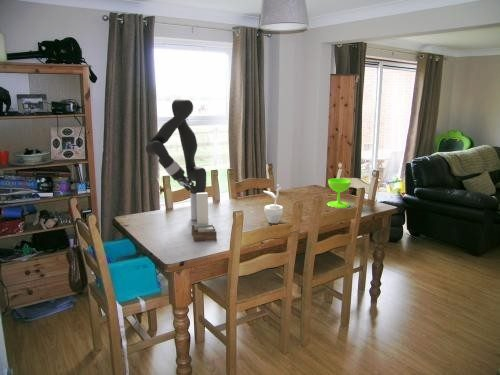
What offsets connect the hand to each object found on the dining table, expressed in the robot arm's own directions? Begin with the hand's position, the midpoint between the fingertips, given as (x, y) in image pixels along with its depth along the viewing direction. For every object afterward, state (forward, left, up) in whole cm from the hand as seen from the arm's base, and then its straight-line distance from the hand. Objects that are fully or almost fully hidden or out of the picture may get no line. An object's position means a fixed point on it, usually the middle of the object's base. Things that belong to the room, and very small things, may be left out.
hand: (192, 190), depth 222 cm
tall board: (+5, +10, -21) cm, 24 cm away
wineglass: (-89, +63, -24) cm, 112 cm away
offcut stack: (+10, +14, -21) cm, 27 cm away
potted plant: (-33, +36, -24) cm, 54 cm away
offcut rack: (+8, +12, -23) cm, 28 cm away
